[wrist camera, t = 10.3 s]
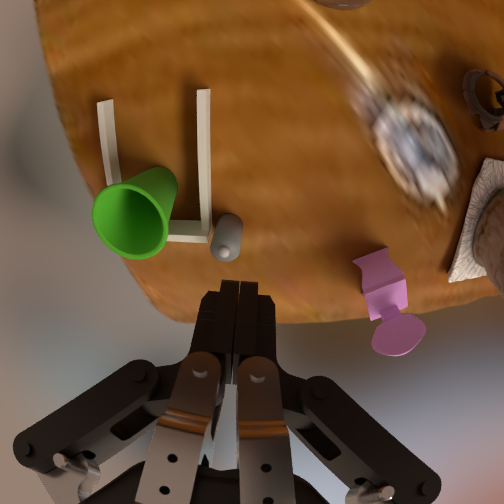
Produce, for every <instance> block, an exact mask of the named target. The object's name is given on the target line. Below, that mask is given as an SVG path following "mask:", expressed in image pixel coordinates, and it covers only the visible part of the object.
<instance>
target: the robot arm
mask: <svg viewBox="0 0 504 504" xmlns="http://www.w3.org/2000/svg"><path fill="white" fill-rule="evenodd" d="M315 1H317V2H319V3H320V4H323V5H325V6H327V7H331V8H334V9H341V10H352V9H356V8H359V7H361V6H364V5H365V4H367V3H368V2H370V1H372V0H315ZM275 324H276V320H275V304H274V302H273V300H272V299H271V297H270V296H269V295H258V282H248V281H241V284H240V293H239V281H234V280H222V282H221V287H220V292H216V291H208V292H207V293H206V295H205V296H204V297H203V298H202V299H201V304H200V308H199V312H198V316H197V321H196V325H195V329H194V334H193V338H192V343H191V347H190V351H189V353H188V355H187V356H186V357H185V358H184V359H183V360H182V361H180V362H178V363H176V364H173V365H167V366H160V367H155V366H154V365H153V364H152V363H151V362H149V361H147V360H133V361H131V362H129V363H127V364H126V365H124V366H123V367H122V368H120V369H118V370H117V371H116V372H114V373H112V374H111V375H109V376H108V377H106V378H105V379H103V380H102V381H101V382H99V383H98V384H96V385H94V386H93V387H91V388H90V389H88V390H87V391H85V392H84V393H82V394H81V395H79V396H78V397H76V398H75V399H73V400H71V401H70V402H69V403H67V404H65V405H64V406H62V407H61V408H59V409H58V410H56V411H54V412H53V413H51V414H50V415H48V416H46V417H45V418H43V419H42V420H40V421H39V422H37V423H36V424H34V425H32V426H31V427H29V428H27V429H26V430H24V431H23V432H21V433H19V434H18V435H17V436H16V438H15V439H14V442H13V451H14V455H15V457H16V459H17V460H18V461H19V463H20V464H22V465H23V466H25V467H27V468H30V469H32V470H34V471H35V472H36V473H37V474H38V476H39V478H40V479H41V481H42V483H43V485H44V486H45V488H46V490H47V491H48V493H49V495H50V496H51V498H52V499H53V501H54V502H55V504H330V503H329V502H328V501H327V500H326V499H325V498H324V497H322V495H320V493H319V492H318V491H317V490H316V489H315V488H314V487H313V486H312V485H311V484H310V483H308V482H307V481H306V480H304V479H303V478H301V477H299V476H297V475H295V474H293V468H292V458H291V448H290V438H289V433H288V428H287V427H286V426H288V427H289V429H290V430H291V431H292V432H293V433H294V434H295V435H296V436H297V437H298V438H299V440H300V441H301V442H302V443H304V445H305V446H306V447H307V448H308V449H309V450H310V451H311V452H312V453H313V454H314V455H315V456H316V457H317V458H318V459H319V460H320V461H321V462H322V463H323V464H324V465H325V466H326V467H327V468H328V469H329V470H330V471H331V472H332V473H334V474H335V475H336V476H337V477H338V478H339V479H340V480H341V481H342V482H343V483H344V484H345V485H346V486H348V487H349V488H350V490H349V491H348V493H347V494H346V497H345V504H431V503H432V502H433V501H435V499H436V498H437V497H438V495H439V493H440V491H441V479H440V477H439V476H438V474H436V473H435V472H434V471H433V470H432V469H431V468H429V467H428V466H427V465H426V464H425V463H423V462H422V461H421V460H420V459H419V458H418V457H416V456H415V455H414V454H413V453H412V452H411V451H409V450H408V449H407V448H406V447H405V446H404V445H402V444H401V443H400V442H399V441H398V440H397V439H396V438H395V437H394V436H392V435H391V434H390V433H389V432H388V431H387V430H386V429H384V428H383V427H382V426H381V425H380V424H379V423H378V422H377V421H375V419H373V418H372V417H371V416H370V415H369V414H368V413H367V412H366V411H365V410H364V409H363V408H361V407H360V406H359V405H358V404H357V403H356V402H355V401H354V400H353V399H352V398H350V396H349V395H348V394H347V393H345V392H344V391H343V390H342V389H341V388H340V387H339V386H338V385H337V384H336V383H335V382H334V381H333V380H331V379H329V378H327V377H324V376H314V377H311V378H309V379H307V380H305V379H302V378H299V377H296V376H293V375H290V374H288V373H286V372H285V371H284V370H283V369H282V368H281V367H280V366H279V364H278V362H277V359H276V326H275ZM232 368H233V384H235V385H237V396H236V431H237V432H236V435H237V469H231V470H225V471H219V470H215V469H212V468H211V465H212V460H213V454H214V444H215V438H216V433H217V428H218V422H219V417H220V412H221V407H222V403H223V398H224V393H225V384H231V378H232ZM155 426H156V427H155ZM153 427H155V431H154V434H153V438H152V441H151V444H150V447H149V451H148V454H147V458H146V461H143V462H140V463H137V464H136V465H133V466H132V467H131V468H129V469H128V470H127V471H125V472H123V473H122V474H121V475H120V476H118V477H117V478H115V479H114V480H112V481H111V482H110V483H108V484H107V485H105V486H104V487H102V488H101V489H100V490H98V491H97V492H95V493H94V494H92V495H91V491H92V488H93V487H94V486H95V485H96V484H97V483H98V482H99V480H100V476H101V473H100V469H99V465H100V464H102V463H103V462H105V461H106V460H108V459H109V458H111V457H112V456H114V455H115V454H117V453H118V452H120V451H121V450H122V449H124V448H125V447H127V446H128V445H130V444H131V443H132V442H134V441H135V440H137V439H138V438H140V437H141V436H142V435H144V434H145V433H146V432H148V431H149V430H150V429H152V428H153Z"/></svg>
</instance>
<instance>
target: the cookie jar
mask: <svg viewBox="0 0 504 504" xmlns="http://www.w3.org/2000/svg"><path fill="white" fill-rule="evenodd" d="M447 274H448V281H449V283H450V282H455V281H461V280H462V281H463V280H465V279H473V278H477V277H480V276H486V275H487V276H488V278H489V280H490V281H491V282H492V283H493V285H494V286H495V287H496V289H497V290H498V291H499V293H500V294H501V296H502V297H503V298H504V162H503V161H500V160H494V159H492V158H486V159H485V160H484V162H483V165H482V168H481V171H480V173H479V175H478V177H477V178H476V180H475V182H474V185H473V187H472V193H471V198H470V203H469V206H468V210H467V215H466V217H465V222H464V226H463V229H462V233H461V236H460V239H459V243H458V246H457V250H456V253H455V256H454V259H453V262H452V265H451V268H450V270H449V271H448V273H447Z"/></svg>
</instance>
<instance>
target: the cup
mask: <svg viewBox="0 0 504 504" xmlns="http://www.w3.org/2000/svg"><path fill="white" fill-rule="evenodd" d="M177 190H178V183H177V180H176V177H175V176H174V174H173V173H172V172H171V171H169V170H168V169H166V168H163V167H153V168H151V169H148V170H146V171H144V172H142V173H140V174H138V175H136V176H134V177H132V178H130V179H128V180H126V181H124V182H122V183H116V184H111V185H109V186H107V187H105V188H103V189H102V190H101V191H100V192H99V194H98V195H97V197H96V199H95V200H94V203H93V208H92V221H93V224H94V228H95V230H96V232H97V234H98V236H99V237H100V239H101V240H102V242H103V243H104V244H105V245H106V246H107V247H108V248H110V250H112V251H114V252H115V253H117V254H119V255H121V256H123V257H126V258H130V259H145V258H148V257H151V256H153V255H155V254H156V253H158V252H159V251H160V250H161V249H162V248H163V247H164V245H165V243H166V240H167V238H168V230H169V228H168V222H169V218H170V215H171V211H172V208H173V204H174V201H175V197H176V194H177Z"/></svg>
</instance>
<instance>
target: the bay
mask: <svg viewBox="0 0 504 504" xmlns="http://www.w3.org/2000/svg"><path fill="white" fill-rule="evenodd" d="M97 111H98V123H99V132H100V141H101V149H102V156H103V163H104V169H105V176H106V181H107V186H109V185H111V184H116V183H122V180H121V173H120V166H119V159H118V151H117V142H116V132H115V121H114V108H113V99H111V100H106V101H102V102H98V103H97ZM197 141H198V171H199V193H200V211H201V221H197V220H169V222H168V228H169V230H168V238H167V240H166V241H177V242H198V243H208V240H209V237H210V233H211V230H212V204H211V168H210V89H200V90H197ZM242 229H243V222H242V220H241V219H240V218H239V217H238V216H237V215H235V214H224V215H222V216H221V217H220V218H219V219H218V222H217V225H216V229H215V232H214V235H213V239H212V242H211V246H210V251H211V253H212V255H213V256H214V257H215V258H216V259H218V260H220V261H225V262H227V261H232V260H234V259H236V258H237V257H238V255H239V252H240V244H241V237H242Z"/></svg>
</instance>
